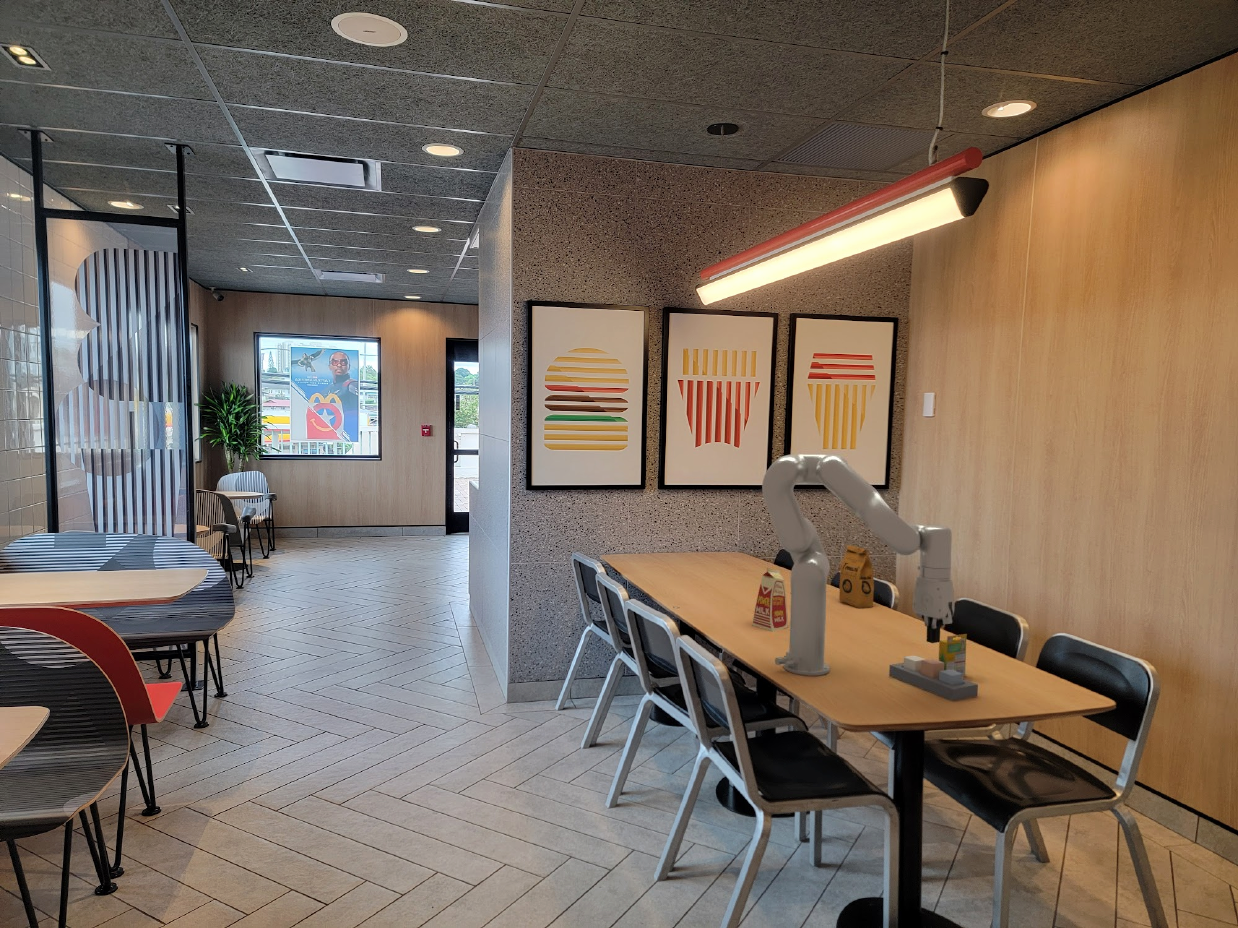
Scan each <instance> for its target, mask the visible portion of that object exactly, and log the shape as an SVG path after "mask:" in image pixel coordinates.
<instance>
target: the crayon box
mask: <svg viewBox="0 0 1238 928" xmlns="http://www.w3.org/2000/svg"><path fill="white" fill-rule="evenodd" d="M967 636H968V634H967V633H963V634H955V635H948V636H947V638H946V639H943V640H941V639H940V642H938V660H939V661H941V662H944V670H949V669H951V670H954V671H957V672H959V673H962V674H963V677H964V676H966V666H967V665H966V663H967V662H966V661H967V658H966V657H967Z"/></svg>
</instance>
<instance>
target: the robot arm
mask: <svg viewBox="0 0 1238 928" xmlns="http://www.w3.org/2000/svg"><path fill="white" fill-rule="evenodd" d="M798 484H799V485H802V484H804V485H823V486H824V487H825V488H826V489H827V490H828V491H829V492H831V494H833V495H834V496H835V497H836V498H837V499H838V500H839V501H840V502H841V503H843V505H845V506H846V507H847V508H848V509H849V510H850V511H851V512H852V513H853V514H855V516H856V517H857V518H858V519H859V520H861V522H862V523H864V524H865V526H866V527H867V528H869V529H870V531H872V533H873V534H875V535H876V536H877V537H878V538H879V539H880V540H881V541H882V542H883V543H884V544H885V545H886V546H888V548H889V549H891V550H892V551H894V553H896V554H898V555H901V556H911V555H913V554H915V553H916V552H917V551H918V550H919V553H920V555H919V565H918V566H917V571H919V575H917V577H916V580H915V584H914V589H913V595H912V596H913V598H912V599H913V600H912V610H913V612H915V614H916V616H917V617H919V618H920V619H922V620H923V623H924V626H925V627H926V642H927V643H930V644H936V643H939V642H940V641H941V628H943V627H944V625H949V624H953V617H954V616H955V614H954V613H955V591H954V584H953V580H952V579H951V574H952V573H951V570H952V569H951V568H952V564H951V563H952V539H953V537H952V535H953V534H952V533H953V532H952V529H950V527H948V526H944V525H933V524H932V525H931V524H930V525H921V524H916V523H915V524H914V523H910V522H906V521H904V520H903V519H902V518H901V517H900V516H899V515H898V514H897V513H896V512H895V511H894V510H893V509H892V508H891V507H890V506H889V505H888V504H887V503H886V501H885V500H884V499H883V496H882V495H881V493H879V492H878V490H877V489H876V488H875V487H873V485H871V484H870V483H869V482H868V481H867V480H866V479H864V478H863V477H862V476H861V475H860V474H859V473H858V472H857V471H856V470H855V469H854V468H853V467H852V466H850V465H849V463H848V461H847V460H846V459H845V457H843V456H841V455H839V454H834V453H831V454H801V453H800V454H797V453H796V454H795V453H794V454H793V453H792V454H787V455H783V456H780V457H779V458H777V459H776V460H774V461H773V463H772V464H771V465H770V466H769V468H768V469H767V471H766V472H765V474H764V476H763V479H762V486H761V487H762V488H761V490H762V496H763V497H762V498H763V500H764V503H765V505H766V508H767V510H768V511H767V512H768V515H769V516H770V520H771V523H772V525H773V528H774V530H775V533H776V535H777V538H778V541H779V544H780V546H781V547H782V548H783V550H784V551H786V552H787V553H789V554H790V556H791V559H792V562H793V566H792V567H791V571H790V618H789V619H790V621H789V622H790V623H789V625H790V626H789V645H788V646H789V650H788V651H786V652H785V655H784V656H779V657H775V659H774V663H775V665H777V666H778V665H782V667H783V668H784V670H786V671H788V672H789V673H793V674H795V675H801V676H809V677H810V676H814V677H815V676H823V675H827V674H829V673H830V670H831V668H830V665H829V664H827V663H826V662H825V647H826V646H825V645H826V622H827V621H826V619H827V618H826V616H827V614H826V613H827V583H828V578H829V576H830V571H831V565H830V562H829V558H828V556H827V554H826V551H825V549H824V546H823V543H822V541H821V539H820V536H819V534H818V532H817V531H818V530H817V529H816V527H815V525H814V524H813V522H812V521H811V520H810V519H809V518H806V517H804V516H805V515H803V512H802V510H801V508H800V507H801V506H800V504H799V502H798V499H797V497H796V495H795V491H794V487H795V486H796V485H798Z"/></svg>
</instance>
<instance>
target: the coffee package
mask: <svg viewBox="0 0 1238 928" xmlns="http://www.w3.org/2000/svg"><path fill="white" fill-rule="evenodd" d="M845 549H846V552H845V554H844V557H843V558H842V561H841V563H840V565H839V568H840V569H839V571H840V573H839V598H838V599H839V600H838V601H840V602H843V603H845V604H848V605H850V606H853V607H855V608H858V609H861V608H862V609H866V608H873V607H874V591H875V581H874V580H875V579H874V569H873V566H872V561H871V559H870V558H871V557H870V555H869V552H868V550H867V548H862V547H858V546H853V545H849V544H847V546H845Z"/></svg>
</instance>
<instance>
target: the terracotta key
mask: <svg viewBox="0 0 1238 928" xmlns="http://www.w3.org/2000/svg"><path fill="white" fill-rule="evenodd" d="M924 659H925V660H921V674H923V675H925V676H928V677H930V678H938V677H939V671H944V662H941V661H939V659H935V658H932V657H931V658H924Z"/></svg>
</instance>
